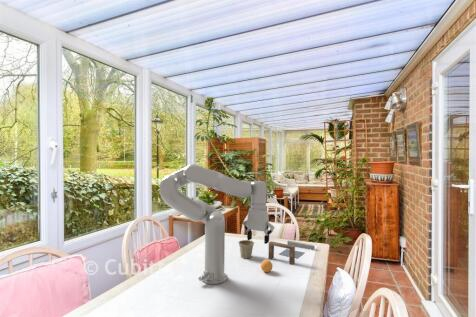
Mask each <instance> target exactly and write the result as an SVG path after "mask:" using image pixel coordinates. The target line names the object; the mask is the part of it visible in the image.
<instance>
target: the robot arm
mask: <svg viewBox="0 0 476 317" xmlns="http://www.w3.org/2000/svg"><path fill="white" fill-rule="evenodd" d="M192 183H193V184H197V185H200V186H203V187H207V188H210V189H214V190H215V191H219V192H222V193H225V194H227V195H231V196H234V197H237V198H238V197H239V198H243V199H245V198H248V197H250V202H249V203H248V207H249V206H250V208H249V209H248V213H247V219H246V220H245V221H242V224H243V228H244V229H245V232H246V237H247V240H250V241H251V240H252V238H253V231H259V232H263V233H264V238H263V239H264V241H263V242H264V244H266V245H267V244H269V242H270V235H271V234H272V233H273V232H274V230H275V226H274V225H273V224H271V223H270V222H269V211H268V209H267V182H266V181H262V180H254V181H252V180H244V179H243V180H239V179H236V178H232V177H230V176H227V175H225V174H223V173H222V172H220V171H216V170H213V169H210V168H206V167H203V166H199V164H196V163H191V164H188V165H186V166H185V167H183V168H181V169H180V170H177V171H174V172H173V173H171V174H167V175H165V176H164V177H163V178H162V179H161V181H160V183H159V187H158V188H159V195H160V198H161V200H162V201H163V202H164V203H165V204H166V205H167V206H168V207H170V208H172V209H173V210H174V211H176V212H178V213H179V214H181V215H182V216H184V217H186V218H188V219H189V220H190V221H192V222H195V223H198V222H202V223H203V224H204V271H203V274H201V276H199V277H198V280H199V281H200V282H204V283H205V284H208V285H209V284H210V285H219V284H223V283H225V282H226V281H227V280H228V274H227V273H226V272H225V250H226V249H225V248H226V247H225V245H226V244H225V241H226V240H225V237H226V235H225V234H226V232H225V231H226V220H225V215H224V214H223V213H222V212H221V211H220V210H219V209H218V208H215V207H213V206H212V205H210V204H209V203H208V202H206V201H204V200H202V199H192V198H191V197H189V196H188V195H186V194H185V193H182V192H181V191H180V190H179V189H182V188H183V187H186V186H187V185H189V184H192Z"/></svg>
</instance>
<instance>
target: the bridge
mask: <svg viewBox="0 0 476 317" xmlns="http://www.w3.org/2000/svg"><path fill="white" fill-rule="evenodd" d="M275 247H279V248H283V249H289V259H288V260H289V262H288V264H289V265H295V262H296V258H295V251H296V247H295V246H292V245H287V243H282V242H277V241H269V242H268V255H267V256H268V258H267V260H269V261H270V260H272V261H273V259H275Z"/></svg>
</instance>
